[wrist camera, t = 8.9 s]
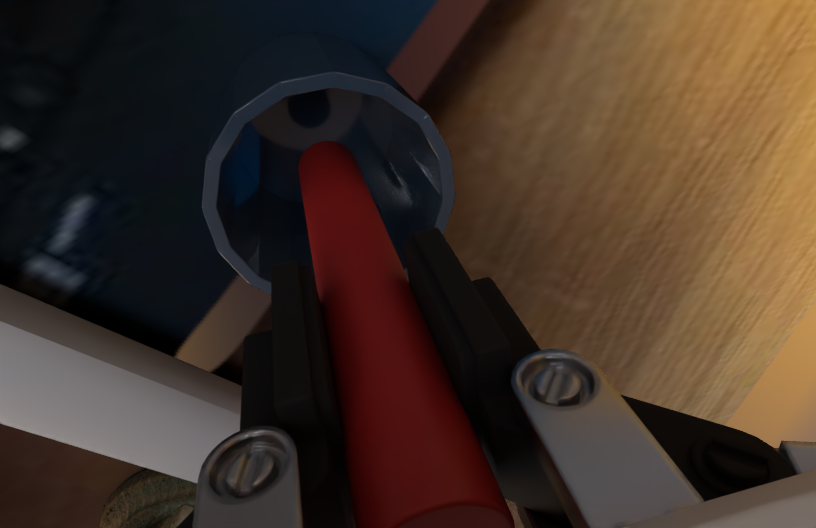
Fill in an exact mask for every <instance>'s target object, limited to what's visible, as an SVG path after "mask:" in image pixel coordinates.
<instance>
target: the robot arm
mask: <svg viewBox="0 0 816 528" xmlns="http://www.w3.org/2000/svg"><path fill="white" fill-rule="evenodd" d="M411 236H412V240H410V241H405V242H404V252H405V259H406V265H407V272H408V278H409V284H410V286H411V289H412V291H413V293H414V295H415V298H416V300H417V302H418V305H419V307H420V309H421V311H422V314H423V316H424V318H425V321H426V323H427V325H428V328H429V330H430V332H431V334H432V337H433V339H434V341H435V344H436V346H437V348H438V350H439V353H440V355H441V357H442V360H443V362H444V364H445V366H446V369H447V371H448V373H449V376H450V378H451V380H452V383H453V385H454V387H455V389H456V392H457V394H458V396H459V399H460V401H461V403H462V405H463V408H464V410H465V412H466V414H467V416H468V417H469V419H470V421H471V424H472V426H473V428H474V430H475V433H476V435H477V437H478V440H479V442H480V444H481V446H482V449H483V451H484V453H485V456H486V458H487V460H488V462H489V465H490V467H491V469H492V471H493V474H494V476H495V478H496V481H497V483H498V485H499V487H500V490H501V492H502V494H503V497H504V498H505V499H508V500H510V501H512V502H515V503H516V507H517V510H518V514H519V516H520V519H521V521H522V523H523V525H524V528H816V442H798V441H781V444H780V447H779V448H773V447H772V446H770V445H768V444H767V443H765V442H763V441H762V440H760V439H759V438H757V437H755V436H753V435H750V434H748V433H745V432H743V431H740V430H737V429H734V428H730V427H727V426H724V425H720V424H717V423H714V422H710V421H707V420H704V419H700V418H697V417H694V416H690V415H687V414H684V413H680V412H677V411H674V410H670V409H667V408H663V407H660V406H657V405H653V404H650V403H647V402H643V401H640V400H637V399H633V398H630V397H627V396H623V395H620V394H619V392H618V391H617V390H616V389H615V387H614V386H613V385H612V384H611V382H610V381H609V380H608V378H607V377H606V376H605V375H604V373H603V372H602V371H601V370H600V368H599V367H598V366H596V365H595V364H594V363H593V362H592V361H591V360H590V359H588V358H586V357H584V356H582V355H580V354H578V353H575V352H571V351H567V350H560V349H547V350H540V348H539V347H538V345H537V344H536V342H535V341H534V340H533V338H532V337H531V335H530V334H529V332H528V331H527V329H526V328H525V327H524V325H523V324H522V322H521V321H520V319H519V318H518V316H517V315H516V313H515V312H514V311H513V309H512V308H511V306H510V305H509V303H508V302H507V300H506V299H505V297H504V296H503V295H502V293H501V292H500V290H499V289H498V287H497V286H496V284H495V283H494V282H493V280H492V279H491V278H488V277H486V278H482V279H478V280H474V281H471V280H470V278H469V276H468V275H467V273H466V272H465V270H464V268H463V267H462V265H461V264H460V262H459V260H458V259H457V257H456V256H455V254H454V252H453V251H452V249H451V247H450V246H449V244H448V243H447V241H446V239H445V238H444V236H443V235H442V233H441V231H440V230H439V229H438V227H436V228H432V229H427V230H423V231H419V232H414V233H412V235H411ZM271 296H272V330H269V331H264V332H260V333H256V334H252V335H248V336H246V337H245V339H244V351H243V372H242V393H241V414H240V431H238V432H236V433H234V434H232V435H231V436H229V437H227V438H226V439H224V440H223V441H221V442H220V443H219V444H218V445H217V446H216V447H215V448H214V449H213V450H212V451H211V452H210V453H209V455H208V456H207V458H206V459H205V461H204V462H203V464H202V466H201V469H200V473H199V476H198V482H197V491H196V499H195V508H194V510H193V511H192V512H191V513H190V514H189V515H188V516H187V517H186V518H185V519H184V520H183V521H182V522H181V523H180V524H179V525H178V526H177V528H355V526H354V520H353V512H352V506H351V499H350V493H349V487H348V480H347V474H346V468H345V462H344V452H345V447H344V441H343V435H342V429H341V423H340V417H339V411H338V405H337V399H336V392H335V386H334V380H333V374H332V368H331V362H330V356H329V350H328V344H327V338H326V331H325V325H324V319H323V313H322V307H321V303H320V299H319V296H318V292H317V288H316V284H315V281H314V277H313V273H312V269H311V266H310V264H305V265H301V266H300V264H299V261H298V259H296V260H292V261H287V262H283V263H279V264H274V265H271Z"/></svg>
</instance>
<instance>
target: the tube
mask: <svg viewBox="0 0 816 528" xmlns="http://www.w3.org/2000/svg"><path fill="white" fill-rule="evenodd" d="M241 393H242V386H241V385H238V384H236V383H234V382H231V381H229V380H226V379H224V378H222V377H219V376H217V375H215V374H212V373H210V372H208V371H205V370H203V369H200V368H198V367H196V366H193V365H191V364H189V363H186V362H184V361H181V360H179V359H177V358H174V357H172V356H170V355H167V354H165V353H163V352H160V351H158V350H155V349H153V348H151V347H148V346H146V345H144V344H141V343H139V342H136V341H134V340H132V339H129V338H127V337H125V336H122V335H120V334H118V333H115V332H113V331H110V330H108V329H106V328H103V327H101V326H99V325H96V324H94V323H91V322H89V321H87V320H84V319H82V318H80V317H77V316H75V315H73V314H70V313H68V312H65V311H63V310H61V309H58V308H56V307H54V306H51V305H49V304H46V303H44V302H42V301H39V300H37V299H35V298H32V297H30V296H28V295H25V294H23V293H20V292H18V291H16V290H13V289H11V288H9V287H6V286H4V285H1V284H0V423H1V424H4V425H8V426H11V427H14V428H17V429H21V430H24V431H27V432H31V433H34V434H37V435H40V436H44V437H47V438H50V439H53V440H57V441H60V442H63V443H67V444H70V445H73V446H76V447H80V448H83V449H86V450H90V451H93V452H96V453H99V454H103V455H106V456H109V457H112V458H116V459H119V460H122V461H126V462H129V463H132V464H135V465H139V466H142V467H145V468H148V469H152V470H155V471H158V472H162V473H165V474H168V475H171V476H175V477H178V478H181V479H185V480H188V481H191V482H194V483H197V482H198V476H199V473H200V469H201V466H202V464H203V462H204V461H205V459H206V458H207V456H208V455H209V453H210V452H211V451H212V450H213V449H214V448H215V447H216V446H217V445H218V444H219V443H220V442H221V441H223V440H224V439H226V438H227V437H229V436H231V435H232V434H234V433H236V432H238V431H240V414H241Z"/></svg>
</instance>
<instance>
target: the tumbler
mask: <svg viewBox="0 0 816 528" xmlns="http://www.w3.org/2000/svg"><path fill="white" fill-rule="evenodd" d="M321 141H334V142H338V143H340V144H342V145H344V146H346V147H347V148H348V149H349V150H350V151H351V152H352V154H353V155H354V157H355V159H356V162H357V164H358V166H359V169H360V171H361V173H362V175H363V178H364V180H365V182H366V184H367V187H368V189H369V191H370V194H371V196H372V198H373V200H374V203H375V205H376V207H377V210H378V212H379V214H380V216H381V219H382V221H383V223H384V225H385V228H386V230H387V232H388V235H389V237H390V239H391V241H392V244H393V246H394V248H395V251H396V253H397V255H398V257H399V260H400V262H401V264H402V266H403V269H404V271H405V273H406V276H407V278H408V272H407V265H406V259H405V252H404V242H405V241H410V240H412V236H411V235H412V233H414V232H419V231H423V230H427V229H432V228H436V227H438V229H439V230H440V231H441V233H442V235H443V236H444V233H445V229H446V226H447V223H448V220H449V217H450V214H451V210H452V207H453V204H454V201H455V191H454V179H453V168H452V157H451V153H450V151H449V149H448V148H447V146H446V144H445V142H444V140H443V139H442V137H441V135H440V133H439V132H438V130H437V128H436V126H435V124H434V123H433V121H432V119H431V117H430V115H429V114H428V113H427V112H426V111H425V110H424V109H423V108H422V107H421V106H420V105H419V104H418V103H417V102H416V101H415V100H414V99H413V98H412V97H411V96H410V95H409V94H408V93H407V92H406V91H405V90H404V89H403V88H402V87H401V86H400V85H399V84H398V83H397V82H396V81H395V80H394V79H393V78H392V77H391V76H390V75H389V74H388V73H387V72H386V71H385V70H384V69H383V68H382V67H381V66H380V65H379V64H378V63H377V62H376V61H374V60H373V59H372V58H370V57H369V56H368V55H367V54H366V53H364V52H363V51H362V50H361V49H359V48H358V47H356V46H355V45H353V44H352V43H351V42H348V41H345V40H343V39H341V38H338V37H334V36H331V35H328V34H322V33H314V32H301V33H291V34H287V35H283V36H279V37H277V38H275V39H272V40H270V41H267V42H266V43H264V44H262V45H261V46H259V47H257V48H256V49H255V50H254V51H252V52H251V53H250V54H249V55H247V56H246V58H245V59H244V60H242V62H240V64H239V65H238V67H237V68H236V70H235V71H234V73H233V74H232V76H231V78H230V80H229V82H228V84H227V86H226V88H225V90H224V92H223V94H222V97H221V101H220V105H219V109H218V113H217V117H216V121H215V125H214V129H213V133H212V137H211V140H210V144H209V148H208V152H207V156H206V161H205V172H204V183H203V194H202V205H201V206H202V211H203V213H204V216H205V219H206V222H207V224H208V227H209V230H210V232H211V235H212V238H213V240H214V243H215V246H216V248H217V251H218V252H219V254H220V255H221V256H222V257H223V258H224V259H225V260H226V261H227V262H228V263H229V264H230V265H231V266H232V267H233V268H234V269H235V270H236V271H237V272H238V273H239V274H240V275H241V276H242V277H243V278H244V279H245V280H246V281H247V282H248V283H249V284H250V285H251V286H253V287H256V288H258V289H260V290H262V291H265V292H267V293H269V294H271V265H274V264H279V263H283V262H287V261H292V260H296V259H298V261H299V264H300V266H301V265H305V264H310V266H311V269H312V273H313V277H314V281H315V284H316V280H315V273H314V267H313V261H312V254H311V248H310V242H309V236H308V229H307V223H306V217H305V211H304V204H303V198H302V192H301V185H300V179H299V173H298V165H299V161H300V158H301V156H302V154H303V153H304V152H305V151H306V150H307V149H308V148H309V147H310V146H312V145H313V144H315V143H318V142H321ZM316 288H317V286H316Z"/></svg>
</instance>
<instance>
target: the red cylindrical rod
mask: <svg viewBox="0 0 816 528" xmlns="http://www.w3.org/2000/svg"><path fill="white" fill-rule="evenodd" d="M298 173H299V179H300V185H301V192H302V198H303V204H304V211H305V217H306V223H307V229H308V236H309V242H310V248H311V254H312V261H313V267H314V273H315V280H316V286H317V292H318V296H319V299H320V303H321V307H322V313H323V319H324V325H325V331H326V338H327V344H328V350H329V356H330V362H331V368H332V374H333V380H334V386H335V392H336V399H337V405H338V411H339V417H340V423H341V429H342V435H343V441H344V447H345V452H344V462H345V468H346V474H347V480H348V487H349V493H350V499H351V506H352V512H353V518H354V524H355V528H515V525H514V520H513V517H512V515H511V512H510V510H509V508H508V506H507V503H506V501H505V499H504V497H503V494H502V492H501V490H500V487H499V485H498V483H497V481H496V478H495V476H494V474H493V471H492V469H491V467H490V465H489V462H488V460H487V458H486V456H485V453H484V451H483V449H482V446H481V444H480V442H479V440H478V437H477V435H476V433H475V430H474V428H473V426H472V424H471V421H470V419H469V417H468V416H467V414H466V412H465V410H464V408H463V405H462V403H461V401H460V399H459V396H458V394H457V392H456V389H455V387H454V385H453V383H452V380H451V378H450V376H449V373H448V371H447V369H446V366H445V364H444V362H443V360H442V357H441V355H440V353H439V350H438V348H437V346H436V344H435V341H434V339H433V337H432V334H431V332H430V330H429V328H428V325H427V323H426V321H425V318H424V316H423V314H422V311H421V309H420V307H419V305H418V302H417V300H416V298H415V295H414V293H413V291H412V289H411V286H410V284H409V280H408V278H407V276H406V273H405V271H404V269H403V266H402V264H401V262H400V260H399V257H398V255H397V253H396V251H395V248H394V246H393V244H392V241H391V239H390V237H389V235H388V232H387V230H386V228H385V225H384V223H383V221H382V219H381V216H380V214H379V212H378V210H377V207H376V205H375V203H374V200H373V198H372V196H371V194H370V191H369V189H368V187H367V184H366V182H365V180H364V178H363V175H362V173H361V171H360V169H359V166H358V164H357V162H356V159H355V157H354V155H353V154H352V152H351V151H350V150H349V149H348V148H347V147H346V146H344V145H342V144H340V143H338V142H334V141H321V142H318V143H315V144H313V145H312V146H310V147H309V148H308V149H307V150H306V151H305V152H304V153H303V154H302V156H301V158H300V161H299V165H298Z"/></svg>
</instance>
